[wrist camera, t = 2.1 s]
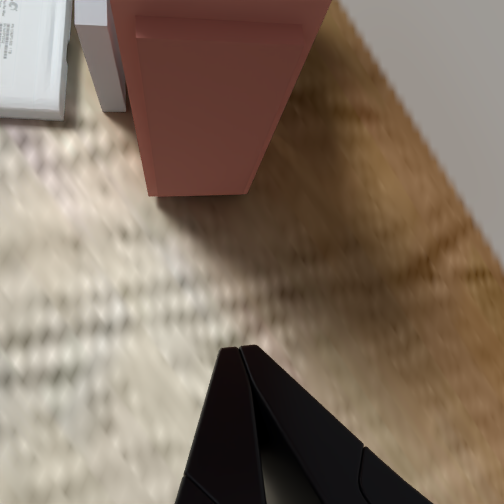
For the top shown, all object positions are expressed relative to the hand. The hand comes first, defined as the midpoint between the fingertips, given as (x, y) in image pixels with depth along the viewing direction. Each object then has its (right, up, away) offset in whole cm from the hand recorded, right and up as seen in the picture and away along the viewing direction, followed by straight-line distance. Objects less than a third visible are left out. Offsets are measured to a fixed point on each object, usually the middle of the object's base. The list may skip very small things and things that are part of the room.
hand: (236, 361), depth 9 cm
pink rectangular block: (-3, +8, +13) cm, 15 cm away
